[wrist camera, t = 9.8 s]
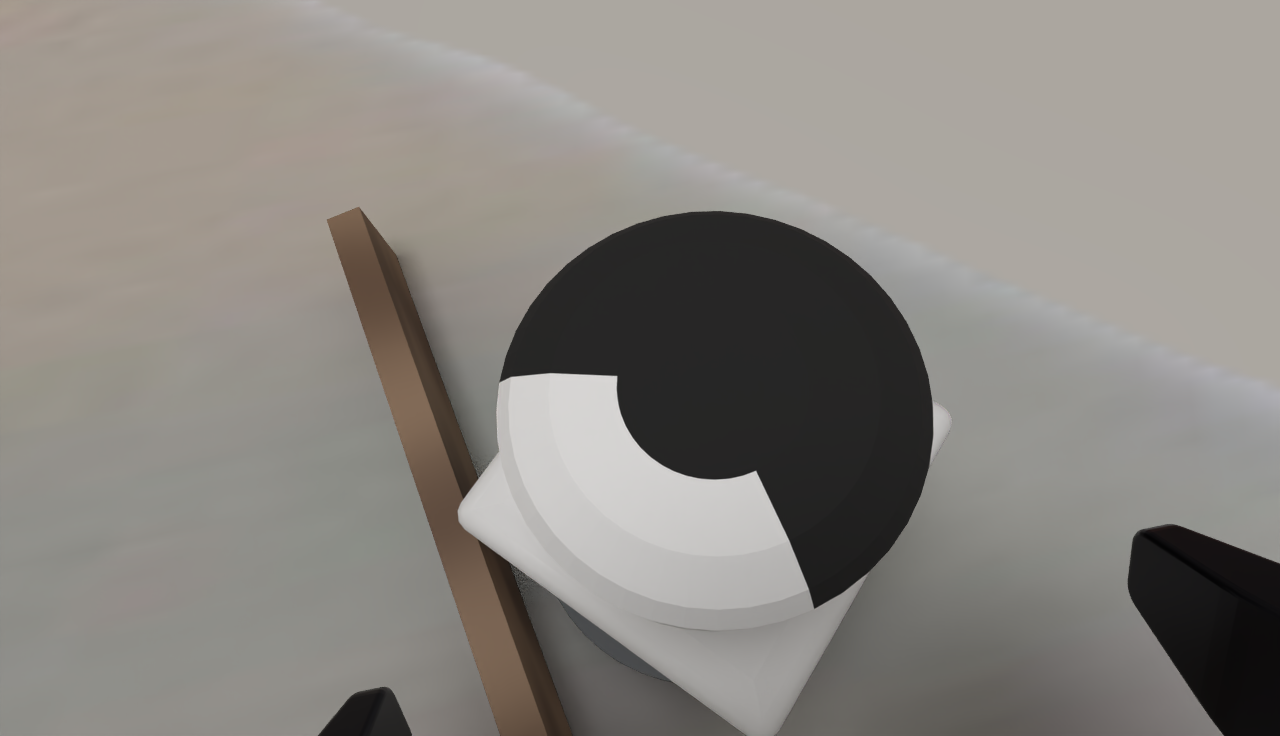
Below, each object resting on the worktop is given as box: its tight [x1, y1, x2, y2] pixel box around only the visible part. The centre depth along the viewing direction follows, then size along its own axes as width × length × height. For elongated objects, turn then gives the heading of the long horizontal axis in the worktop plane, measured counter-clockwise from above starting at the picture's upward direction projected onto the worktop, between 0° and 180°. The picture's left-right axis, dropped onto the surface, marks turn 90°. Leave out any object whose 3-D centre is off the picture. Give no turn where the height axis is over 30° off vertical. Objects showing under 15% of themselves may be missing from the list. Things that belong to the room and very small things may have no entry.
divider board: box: [327, 207, 572, 736], centre depth 20 cm, size 20×1×3 cm, turn 24°
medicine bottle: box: [458, 211, 952, 736], centre depth 15 cm, size 7×7×12 cm
